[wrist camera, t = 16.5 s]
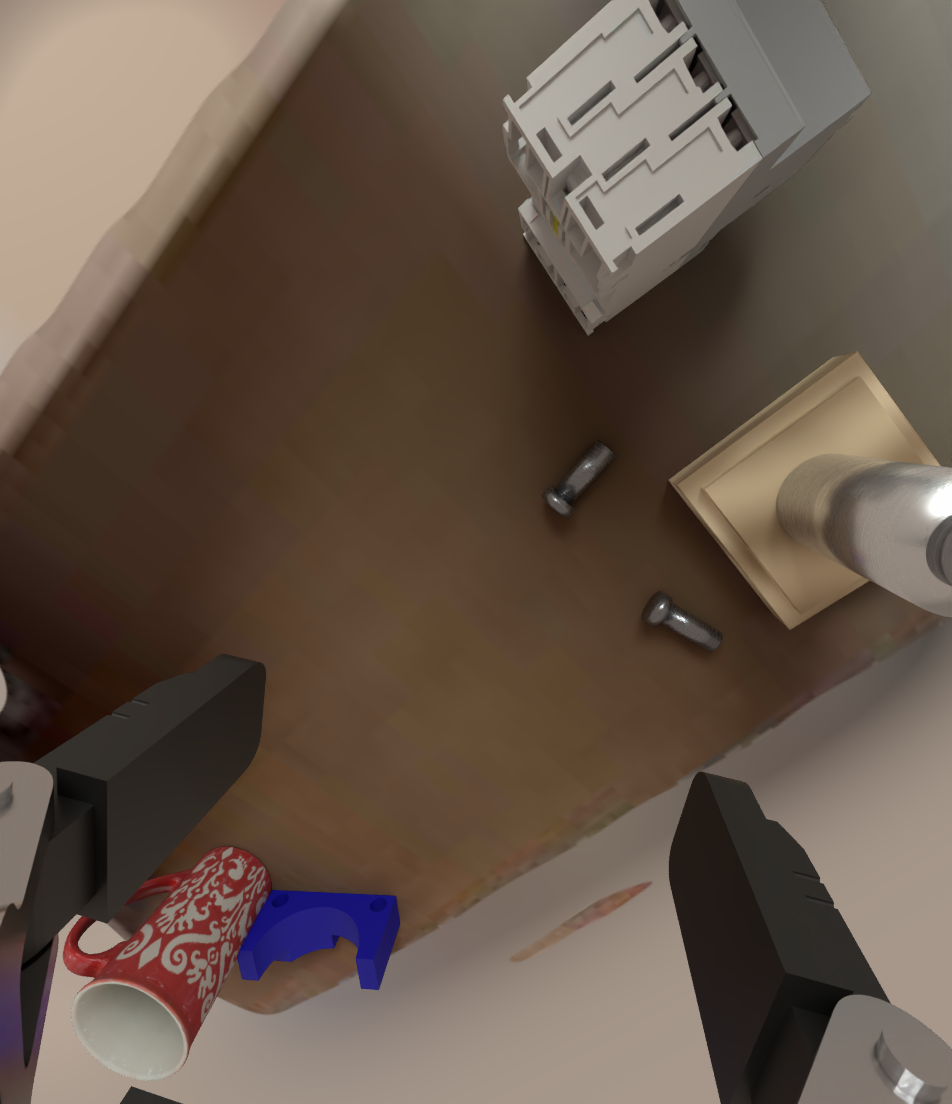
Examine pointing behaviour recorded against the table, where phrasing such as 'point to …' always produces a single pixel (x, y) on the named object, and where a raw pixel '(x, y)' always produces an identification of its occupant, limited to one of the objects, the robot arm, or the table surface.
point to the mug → (166, 965)
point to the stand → (766, 460)
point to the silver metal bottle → (876, 522)
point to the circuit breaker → (668, 134)
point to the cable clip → (322, 931)
